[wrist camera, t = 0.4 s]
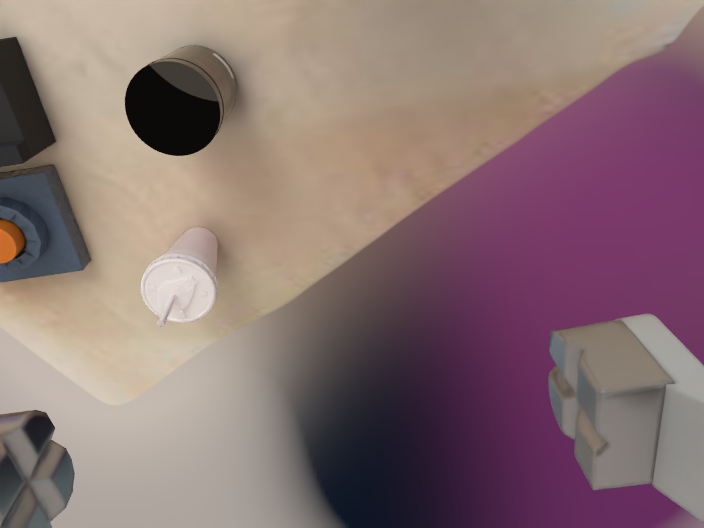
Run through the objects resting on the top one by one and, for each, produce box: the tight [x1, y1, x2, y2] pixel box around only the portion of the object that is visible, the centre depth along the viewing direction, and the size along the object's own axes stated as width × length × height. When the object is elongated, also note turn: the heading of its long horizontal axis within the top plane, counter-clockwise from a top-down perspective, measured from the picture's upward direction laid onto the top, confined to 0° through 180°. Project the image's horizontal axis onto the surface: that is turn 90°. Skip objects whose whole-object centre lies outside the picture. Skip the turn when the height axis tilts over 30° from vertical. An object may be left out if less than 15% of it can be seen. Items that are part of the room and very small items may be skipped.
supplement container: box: [125, 46, 237, 156], centre depth 46 cm, size 7×7×10 cm
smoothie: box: [140, 227, 218, 327], centre depth 51 cm, size 6×6×14 cm
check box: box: [0, 165, 91, 282], centre depth 53 cm, size 10×10×4 cm
